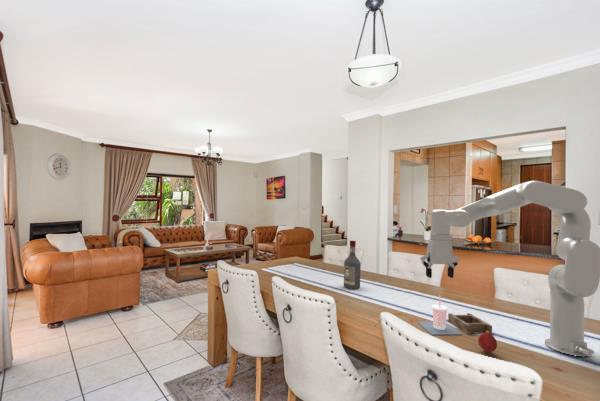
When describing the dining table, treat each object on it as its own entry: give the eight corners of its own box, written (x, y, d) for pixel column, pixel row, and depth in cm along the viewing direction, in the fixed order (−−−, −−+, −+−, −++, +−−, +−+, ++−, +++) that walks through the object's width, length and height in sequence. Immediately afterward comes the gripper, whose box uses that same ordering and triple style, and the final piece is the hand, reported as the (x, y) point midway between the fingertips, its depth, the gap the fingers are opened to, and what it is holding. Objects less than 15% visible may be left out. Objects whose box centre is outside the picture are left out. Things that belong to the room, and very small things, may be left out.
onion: (479, 347, 110) (479, 326, 110) (497, 352, 106) (498, 330, 106) (476, 353, 105) (477, 330, 105) (495, 358, 101) (496, 335, 102)
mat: (462, 335, 120) (462, 334, 120) (432, 335, 119) (432, 334, 119) (444, 322, 133) (444, 321, 133) (417, 322, 132) (417, 321, 132)
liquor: (350, 284, 194) (351, 239, 194) (361, 287, 187) (362, 241, 187) (341, 286, 188) (342, 240, 188) (352, 290, 181) (353, 242, 181)
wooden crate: (492, 334, 121) (492, 325, 121) (467, 334, 121) (467, 325, 121) (470, 321, 135) (470, 313, 135) (448, 321, 135) (448, 313, 135)
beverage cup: (428, 325, 128) (429, 293, 128) (439, 323, 130) (439, 292, 130) (439, 331, 122) (440, 297, 122) (450, 329, 124) (451, 296, 124)
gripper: (453, 237, 131) (453, 275, 131) (417, 236, 130) (416, 274, 130) (464, 239, 124) (464, 279, 123) (425, 238, 122) (424, 279, 122)
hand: (439, 277), depth 126 cm, fingers open, 9 cm apart
